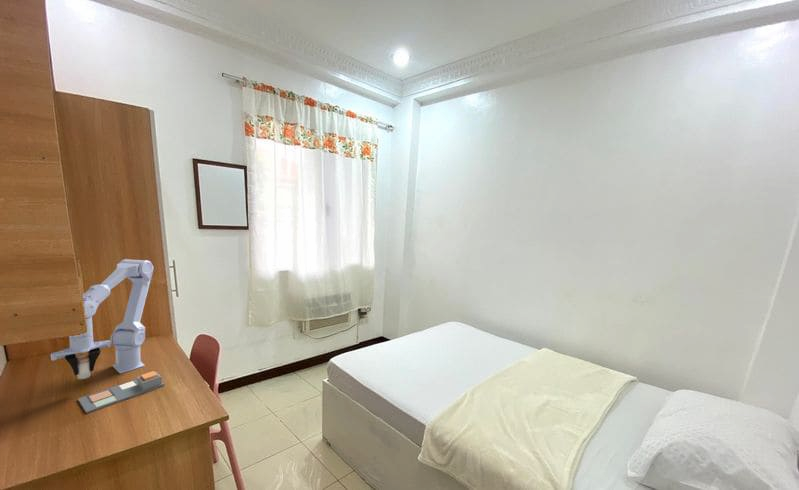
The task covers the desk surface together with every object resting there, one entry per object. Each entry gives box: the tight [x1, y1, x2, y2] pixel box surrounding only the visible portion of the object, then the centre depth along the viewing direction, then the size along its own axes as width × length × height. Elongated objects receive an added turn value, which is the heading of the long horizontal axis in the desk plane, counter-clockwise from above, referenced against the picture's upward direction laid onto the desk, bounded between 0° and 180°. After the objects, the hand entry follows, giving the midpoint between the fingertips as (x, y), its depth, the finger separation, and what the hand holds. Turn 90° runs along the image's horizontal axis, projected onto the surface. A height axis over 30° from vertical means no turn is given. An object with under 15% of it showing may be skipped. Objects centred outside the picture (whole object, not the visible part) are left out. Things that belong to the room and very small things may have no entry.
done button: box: [140, 370, 157, 381], centre depth 116 cm, size 4×4×2 cm
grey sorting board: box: [77, 371, 165, 414], centre depth 112 cm, size 11×21×4 cm, turn 145°
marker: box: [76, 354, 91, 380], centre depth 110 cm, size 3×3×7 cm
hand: (83, 372), depth 110 cm, fingers closed on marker, 3 cm apart
